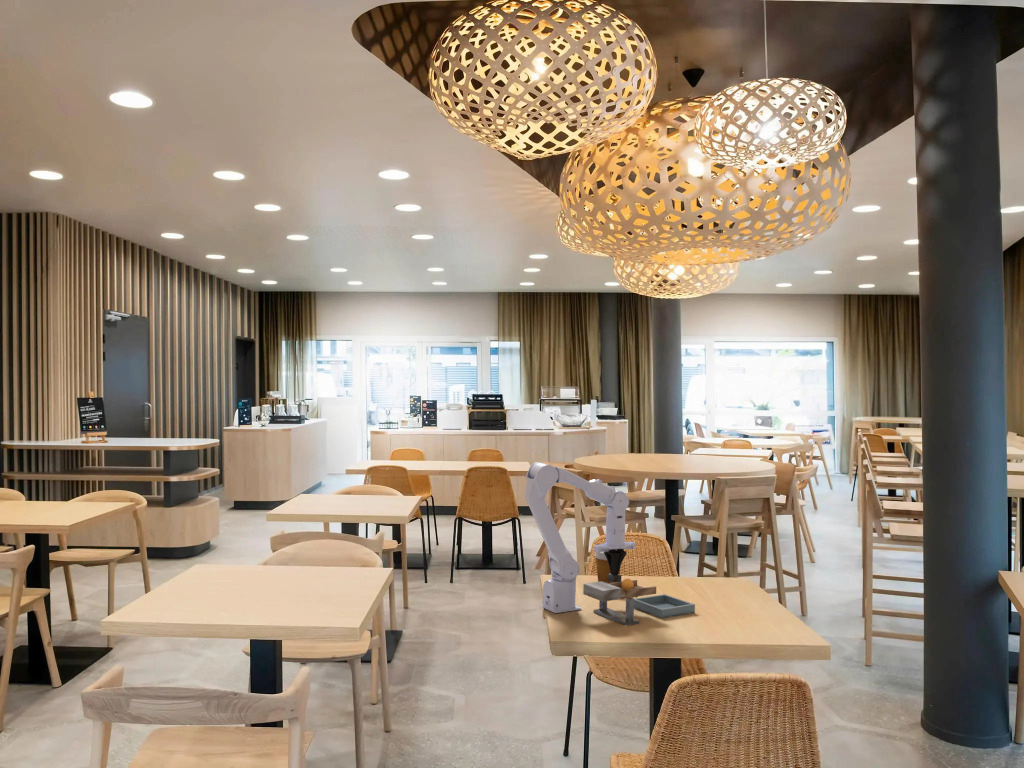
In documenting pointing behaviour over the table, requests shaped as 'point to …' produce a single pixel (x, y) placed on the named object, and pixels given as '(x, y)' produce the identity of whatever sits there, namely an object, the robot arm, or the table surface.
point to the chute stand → (617, 616)
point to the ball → (627, 584)
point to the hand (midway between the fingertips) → (614, 574)
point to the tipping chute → (615, 589)
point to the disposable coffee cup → (602, 567)
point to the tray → (664, 606)
